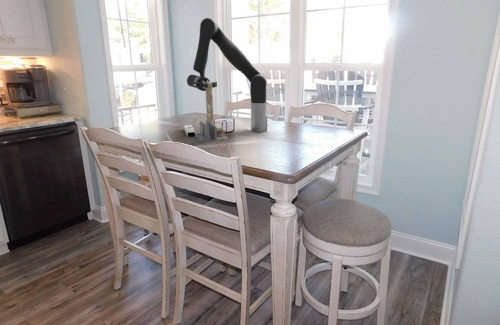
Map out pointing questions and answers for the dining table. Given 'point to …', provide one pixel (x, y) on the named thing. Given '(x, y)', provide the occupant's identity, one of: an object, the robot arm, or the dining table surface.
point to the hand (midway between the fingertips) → (209, 85)
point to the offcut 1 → (219, 127)
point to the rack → (208, 132)
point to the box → (189, 129)
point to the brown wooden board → (209, 102)
